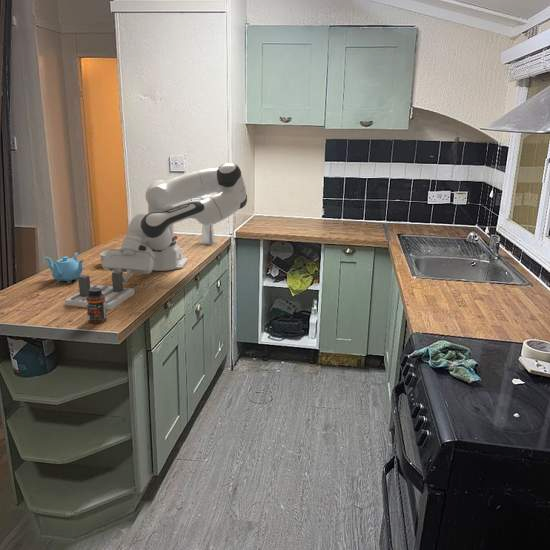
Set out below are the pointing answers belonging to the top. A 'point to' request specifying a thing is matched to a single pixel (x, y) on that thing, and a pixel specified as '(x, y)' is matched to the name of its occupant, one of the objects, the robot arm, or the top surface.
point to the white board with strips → (110, 297)
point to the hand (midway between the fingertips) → (121, 281)
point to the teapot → (66, 268)
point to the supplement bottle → (96, 306)
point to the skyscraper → (207, 231)
